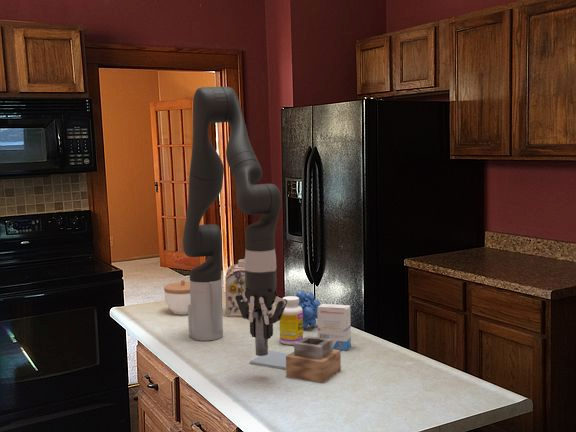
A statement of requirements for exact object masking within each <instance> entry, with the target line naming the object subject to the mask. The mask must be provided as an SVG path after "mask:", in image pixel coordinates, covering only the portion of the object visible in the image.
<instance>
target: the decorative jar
mask: <svg viewBox="0 0 576 432" xmlns="http://www.w3.org/2000/svg"><path fill="white" fill-rule="evenodd" d="M237 261H238V262H237V263H235V264H231V265H230V266H228V267H227V270H226V273H225V279H224V280H225V314H226V315H225V316H226V317H228V318H243V317H242V314H241V312H240V309H239V307H238V304H237V301H236V299H235V297H236V296H237V295H240V294H242V293H243V294H244V293H245V290H246V286H245V258H243V259H242V258H241V259H239V260H237ZM247 303H248V305H249V306H250V303H249V301H248V300H247Z"/></svg>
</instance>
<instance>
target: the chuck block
mask: <svg viewBox="0 0 576 432" xmlns="http://www.w3.org/2000/svg"><path fill="white" fill-rule="evenodd" d="M293 347H294V349H293V350H294V351H292V352H291V353H289V355H288V356H286V370H285V371H286V373H285V374H286V377H289V378H295V379H300V380H305V381H311V382H317V383H325V382H327V381H328V380H329V379H330V378H332V377H333V376H334V375H336V374H337V373H338V372H340V371H341V370H342V369H341V368H342V366H341V363H342V360H341V358H342V357H341V356H342V355H341V353H342V352H341V351H342V350H335V349H333V347H332V339H326V338H319V337H318V336H311V335H306V336H303V339H301V340H299V341H298V342H296V343H294V345H293Z"/></svg>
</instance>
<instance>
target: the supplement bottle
mask: <svg viewBox="0 0 576 432" xmlns="http://www.w3.org/2000/svg"><path fill="white" fill-rule="evenodd" d="M282 299H286V300H287V304H286V307H285V309H284V312H283V314H282V317H281V319H280V320H279V342H280V343H281V344H283V345H288V346H294V343H296V342H298V341H299V340H301V339H303V338H304V329H303V310H302V308H301V307H300V306H299V305H298V303H299V297H296V295H287V296H284V297H282Z"/></svg>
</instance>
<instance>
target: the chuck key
mask: <svg viewBox="0 0 576 432" xmlns="http://www.w3.org/2000/svg"><path fill="white" fill-rule="evenodd" d="M267 310H268V309H267ZM252 318H255V337H254V338H255V343H254V344H255V356H257V357H258V356H265V355H268V351H269V348H268V347H269V342H268V341H269V339H268V340H267V339H265V338H264V325H265V321H264V316H263V315H262V310H261V309H257V310H255V311H253V312H252Z"/></svg>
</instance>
